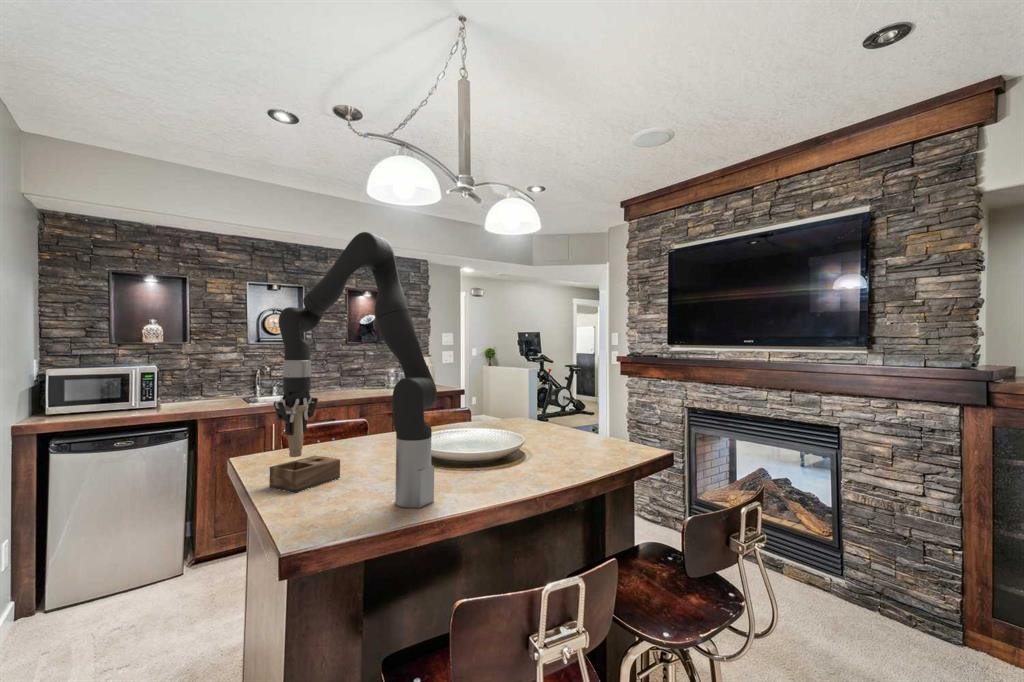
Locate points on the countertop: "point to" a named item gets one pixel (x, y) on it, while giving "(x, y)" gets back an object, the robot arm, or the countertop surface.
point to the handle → (296, 431)
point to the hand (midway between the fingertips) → (296, 433)
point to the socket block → (304, 473)
